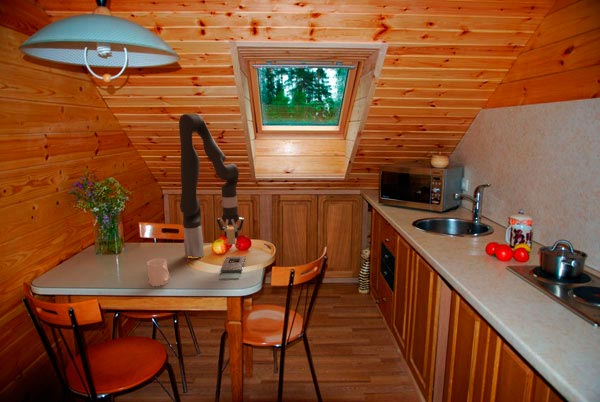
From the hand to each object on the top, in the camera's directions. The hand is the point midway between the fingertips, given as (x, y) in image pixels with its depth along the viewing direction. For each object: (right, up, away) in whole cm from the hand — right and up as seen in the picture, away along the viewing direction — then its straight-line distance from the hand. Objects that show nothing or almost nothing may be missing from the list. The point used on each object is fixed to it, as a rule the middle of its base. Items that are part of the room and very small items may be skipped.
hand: (231, 237), depth 212 cm
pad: (+1, -18, -10) cm, 20 cm away
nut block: (0, -3, +1) cm, 3 cm away
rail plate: (+1, -15, +1) cm, 15 cm away
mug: (-30, -20, -15) cm, 39 cm away
